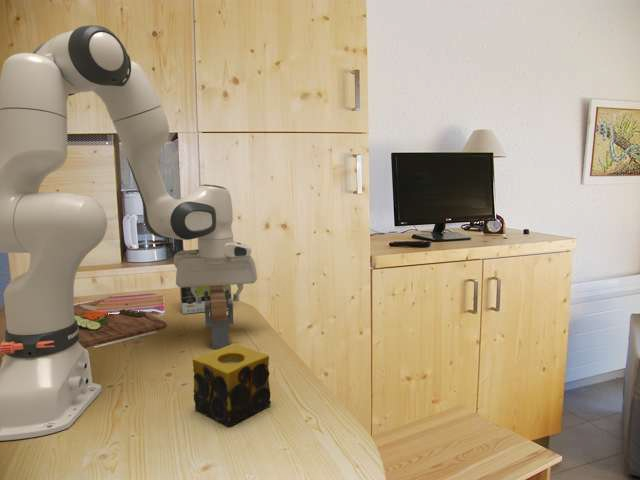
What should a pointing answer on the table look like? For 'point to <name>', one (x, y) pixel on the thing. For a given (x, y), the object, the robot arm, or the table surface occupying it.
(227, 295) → the bracket far
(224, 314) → the rail
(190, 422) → the table surface
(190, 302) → the tea box
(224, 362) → the yellow and black cube
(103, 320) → the chopping board
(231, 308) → the bracket near
